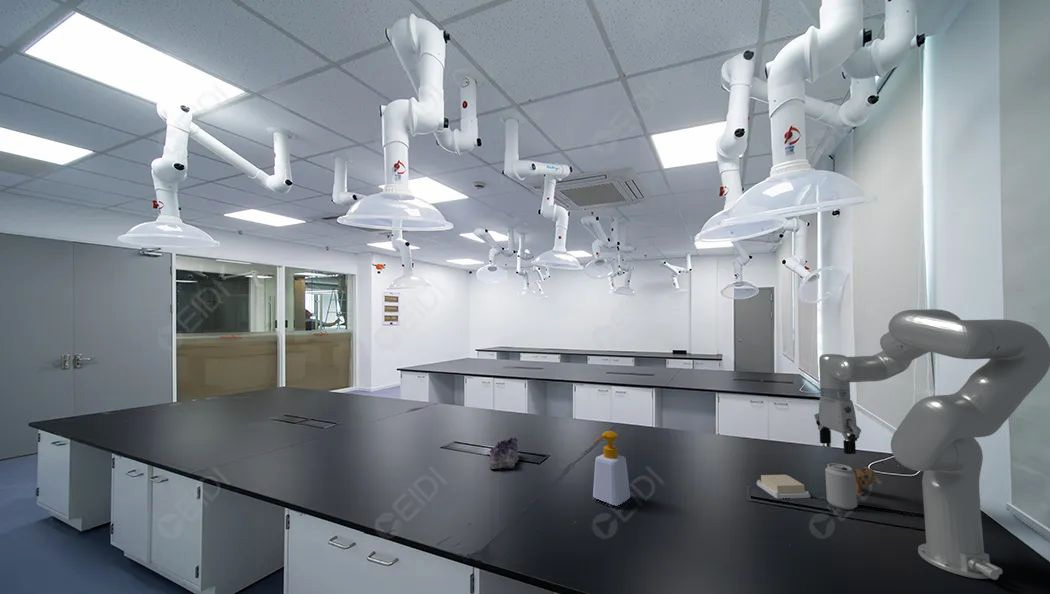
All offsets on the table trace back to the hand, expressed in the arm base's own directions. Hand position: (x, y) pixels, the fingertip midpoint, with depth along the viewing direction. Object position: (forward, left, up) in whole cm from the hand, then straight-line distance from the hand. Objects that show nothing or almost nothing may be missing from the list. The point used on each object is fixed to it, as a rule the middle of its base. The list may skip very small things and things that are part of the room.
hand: (837, 448), depth 127 cm
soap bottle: (+5, +72, -18) cm, 74 cm away
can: (-1, 0, -18) cm, 18 cm away
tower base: (+10, +11, -17) cm, 23 cm away
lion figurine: (+10, -12, -18) cm, 23 cm away
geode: (+44, +106, -18) cm, 116 cm away
